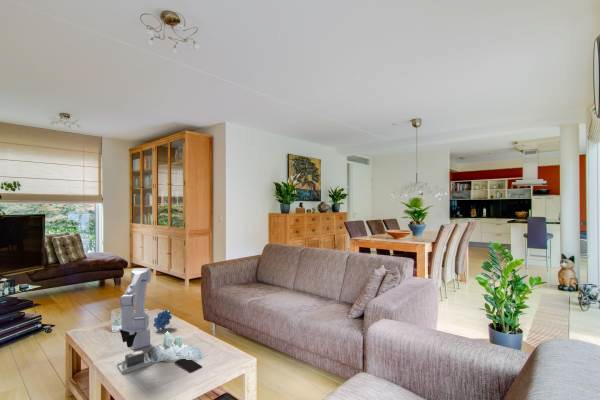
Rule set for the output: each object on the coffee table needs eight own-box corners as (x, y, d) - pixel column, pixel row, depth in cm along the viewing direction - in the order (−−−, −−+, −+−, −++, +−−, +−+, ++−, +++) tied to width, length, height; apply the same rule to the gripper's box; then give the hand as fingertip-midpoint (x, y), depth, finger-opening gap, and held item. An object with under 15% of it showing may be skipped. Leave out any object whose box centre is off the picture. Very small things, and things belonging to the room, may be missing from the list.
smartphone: (190, 372, 153) (173, 361, 162) (190, 375, 153) (173, 363, 162) (203, 366, 158) (186, 356, 167) (202, 368, 158) (186, 358, 168)
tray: (146, 357, 167) (146, 349, 167) (152, 363, 161) (152, 356, 161) (117, 366, 158) (117, 358, 158) (122, 374, 151) (122, 365, 151)
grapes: (168, 324, 212) (169, 306, 212) (173, 327, 207) (173, 309, 207) (150, 329, 204) (151, 310, 204) (154, 332, 199) (155, 313, 199)
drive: (142, 359, 163) (142, 349, 163) (144, 362, 161) (144, 352, 161) (125, 364, 158) (125, 354, 158) (127, 367, 155) (127, 357, 155)
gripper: (115, 315, 164) (114, 341, 164) (123, 324, 153) (123, 351, 153) (130, 312, 169) (129, 337, 169) (138, 320, 158) (138, 347, 158)
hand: (127, 344), depth 161 cm, fingers open, 7 cm apart
